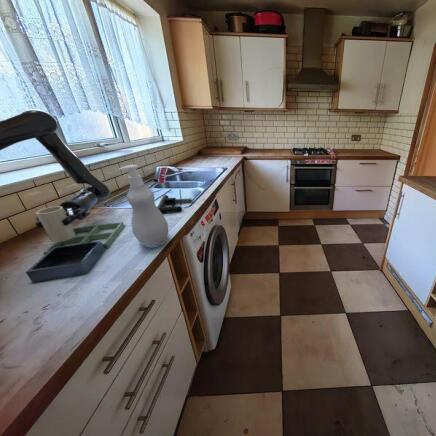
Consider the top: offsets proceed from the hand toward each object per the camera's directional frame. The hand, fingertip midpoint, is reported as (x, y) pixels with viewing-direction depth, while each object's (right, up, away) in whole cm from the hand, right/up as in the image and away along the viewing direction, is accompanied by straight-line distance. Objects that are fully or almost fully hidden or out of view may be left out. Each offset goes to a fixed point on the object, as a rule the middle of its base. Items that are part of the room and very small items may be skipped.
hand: (51, 224), depth 77 cm
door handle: (+20, +9, +42) cm, 47 cm away
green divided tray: (+2, -6, +12) cm, 14 cm away
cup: (-1, -5, +5) cm, 7 cm away
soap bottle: (+29, -7, +11) cm, 32 cm away
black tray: (+9, -13, -2) cm, 16 cm away
